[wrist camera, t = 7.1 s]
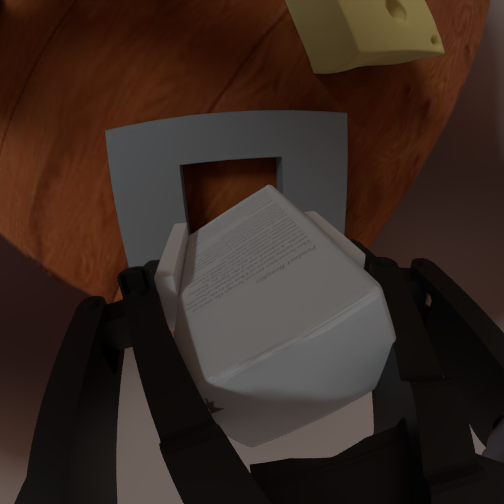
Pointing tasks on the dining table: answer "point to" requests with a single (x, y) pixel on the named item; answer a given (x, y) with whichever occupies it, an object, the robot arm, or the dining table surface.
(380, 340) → the skincare box
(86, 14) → the dining table surface
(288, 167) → the grey frame plate
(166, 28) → the dining table surface
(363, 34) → the cheese
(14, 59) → the dining table surface
